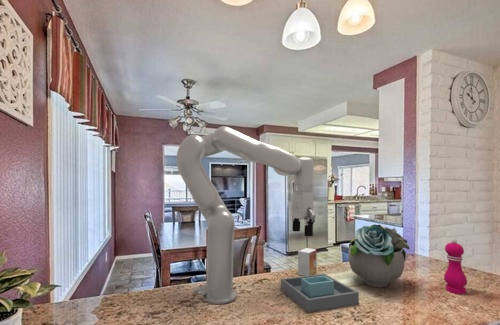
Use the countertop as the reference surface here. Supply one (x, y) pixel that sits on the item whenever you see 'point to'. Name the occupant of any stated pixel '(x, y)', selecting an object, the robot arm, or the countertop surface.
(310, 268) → the small box
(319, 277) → the small crate
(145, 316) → the countertop surface
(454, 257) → the pepper mill
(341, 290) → the gray square tray
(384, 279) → the flower arrangement
